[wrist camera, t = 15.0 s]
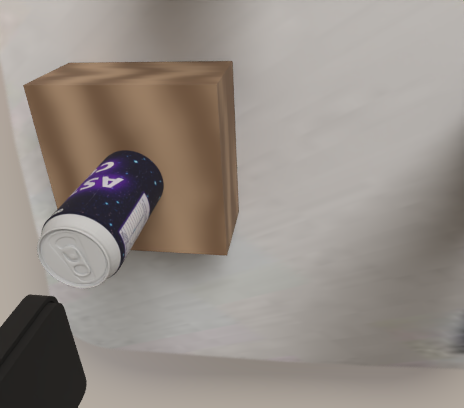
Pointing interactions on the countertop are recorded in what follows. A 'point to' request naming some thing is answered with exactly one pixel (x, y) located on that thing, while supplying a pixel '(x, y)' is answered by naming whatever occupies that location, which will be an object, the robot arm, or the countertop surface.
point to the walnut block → (148, 141)
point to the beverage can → (100, 220)
